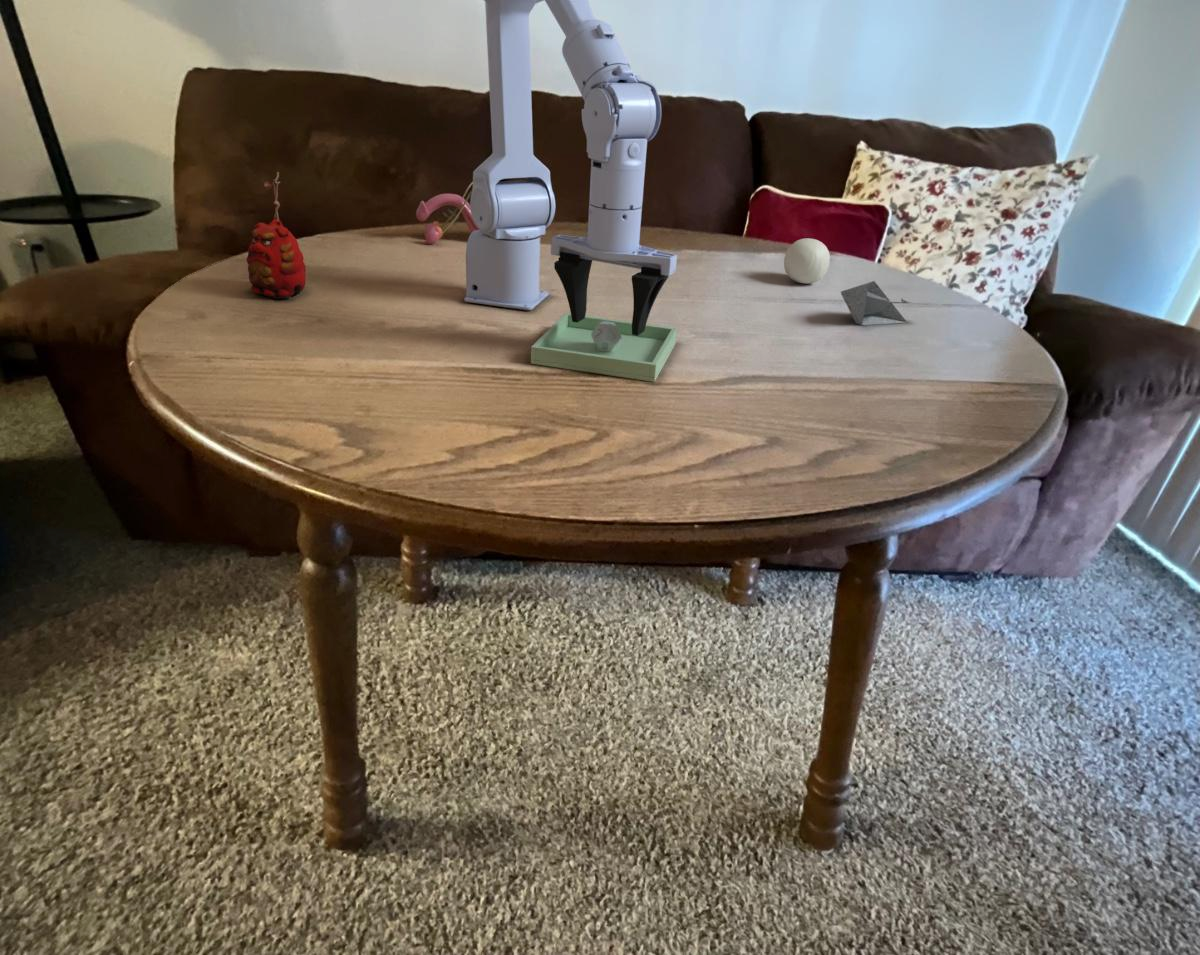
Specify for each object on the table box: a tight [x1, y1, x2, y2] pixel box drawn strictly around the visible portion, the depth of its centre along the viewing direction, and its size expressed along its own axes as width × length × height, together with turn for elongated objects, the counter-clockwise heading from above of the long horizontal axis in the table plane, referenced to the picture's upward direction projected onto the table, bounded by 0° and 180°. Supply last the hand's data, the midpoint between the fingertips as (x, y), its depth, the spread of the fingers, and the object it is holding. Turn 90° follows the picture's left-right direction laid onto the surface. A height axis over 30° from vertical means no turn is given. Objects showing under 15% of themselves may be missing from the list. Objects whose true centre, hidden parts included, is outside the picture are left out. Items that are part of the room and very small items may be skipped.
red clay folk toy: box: [245, 171, 307, 300], centre depth 109 cm, size 8×7×15 cm
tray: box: [530, 312, 678, 383], centre depth 99 cm, size 14×13×2 cm
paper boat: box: [840, 280, 911, 326], centre depth 113 cm, size 12×6×9 cm
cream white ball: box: [783, 237, 831, 285], centre depth 130 cm, size 7×7×7 cm
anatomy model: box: [415, 181, 479, 245], centre depth 141 cm, size 10×14×15 cm
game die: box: [591, 321, 622, 352], centre depth 98 cm, size 4×4×3 cm
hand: (607, 326), depth 97 cm, fingers open, 7 cm apart
